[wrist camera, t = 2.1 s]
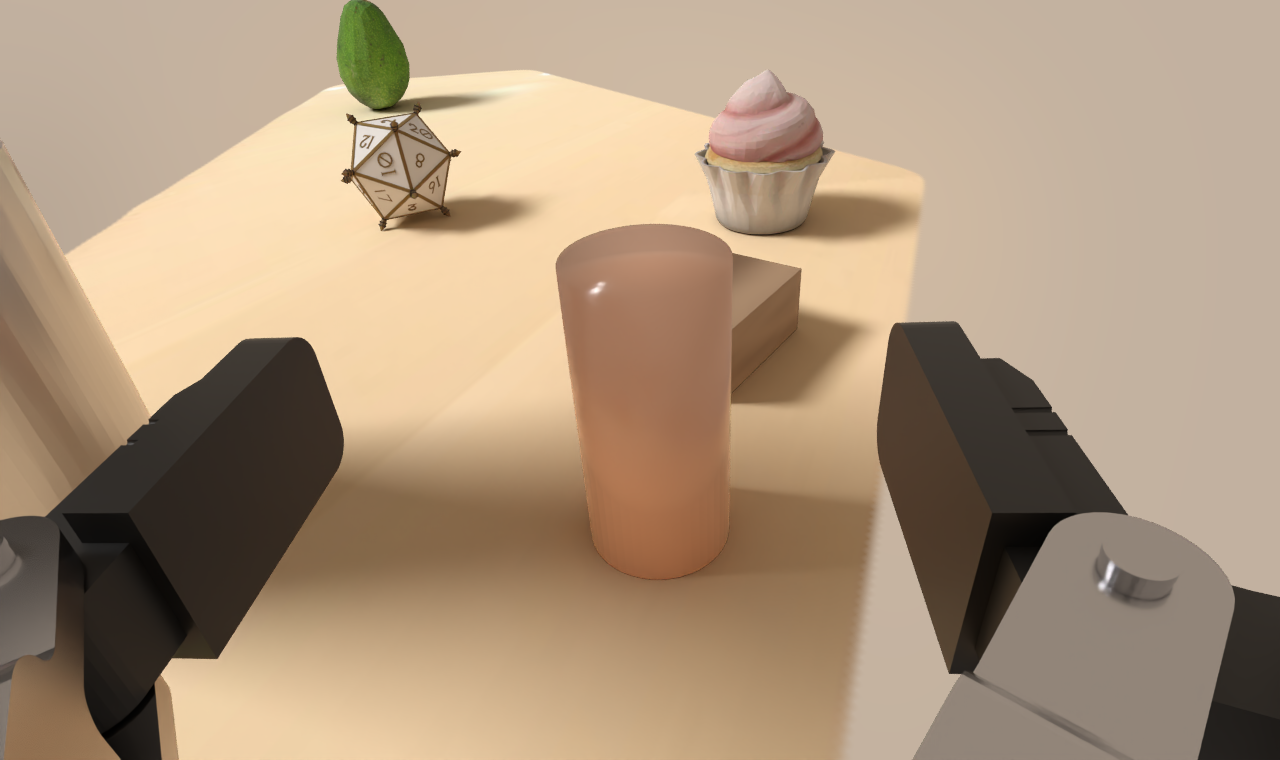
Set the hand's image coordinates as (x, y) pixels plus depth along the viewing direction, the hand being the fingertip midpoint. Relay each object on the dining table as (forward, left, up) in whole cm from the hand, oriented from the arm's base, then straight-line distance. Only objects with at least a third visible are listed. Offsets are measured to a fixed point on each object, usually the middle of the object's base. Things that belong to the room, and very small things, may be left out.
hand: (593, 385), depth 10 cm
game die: (-41, +26, -14) cm, 51 cm away
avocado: (-74, +49, -14) cm, 90 cm away
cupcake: (-17, +38, -14) cm, 45 cm away
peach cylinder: (-6, +9, -14) cm, 18 cm away
